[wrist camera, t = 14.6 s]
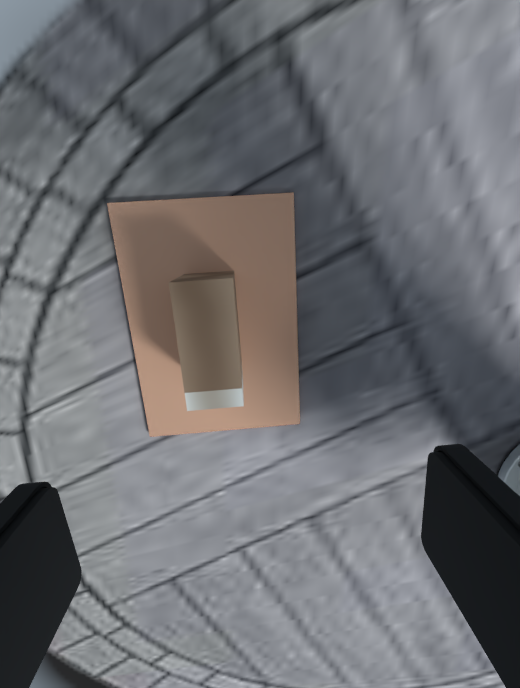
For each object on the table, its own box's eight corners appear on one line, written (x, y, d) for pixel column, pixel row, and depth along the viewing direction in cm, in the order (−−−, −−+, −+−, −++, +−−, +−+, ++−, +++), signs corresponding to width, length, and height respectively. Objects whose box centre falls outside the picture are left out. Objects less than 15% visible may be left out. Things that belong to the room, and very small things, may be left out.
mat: (299, 421, 31) (300, 423, 31) (151, 433, 31) (149, 436, 30) (292, 193, 25) (293, 192, 25) (109, 203, 25) (106, 203, 24)
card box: (234, 270, 26) (232, 278, 21) (242, 374, 29) (243, 406, 23) (184, 274, 26) (168, 282, 20) (197, 377, 29) (187, 411, 23)
